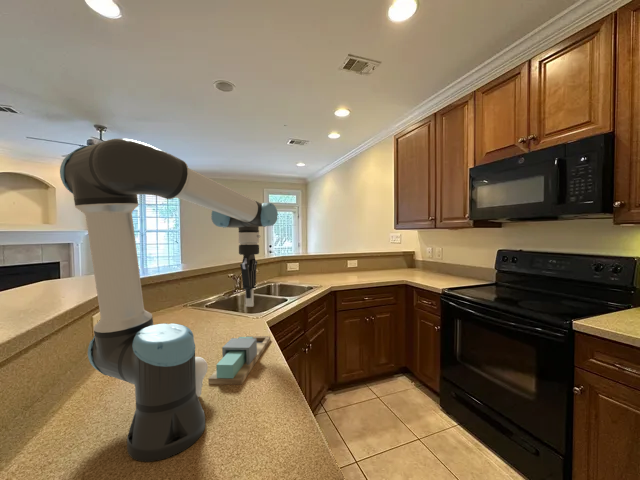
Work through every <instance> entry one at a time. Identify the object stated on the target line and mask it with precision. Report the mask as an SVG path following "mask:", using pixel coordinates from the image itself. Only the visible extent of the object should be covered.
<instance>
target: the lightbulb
mask: <svg viewBox="0 0 640 480" xmlns="http://www.w3.org/2000/svg"><path fill="white" fill-rule="evenodd" d="M208 369H209V368H208V362H207V361H206V360H205V358H203V357H201V356H195V377H196V394H197V396H198V398H199V397H200V396H201V395H202V391H203V389H202V388H203V382H204V379H205V376H206V374H207V372H208Z"/></svg>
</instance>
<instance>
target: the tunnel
mask: <svg viewBox="0 0 640 480" xmlns="http://www.w3.org/2000/svg"><path fill="white" fill-rule="evenodd" d="M221 349H222V358H223V357H224V356H225V355H226V354H227V353H228V352H229V351H230V350H246V360H247V365H250V364H251V362H252V361H253V359H254V358H255V356H256V355H257V338H239V337H232V338H230V339H229V340H228V341H227V342H226V343H225V344H224V345H223V346H222V347H221Z"/></svg>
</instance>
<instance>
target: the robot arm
mask: <svg viewBox="0 0 640 480" xmlns="http://www.w3.org/2000/svg"><path fill="white" fill-rule="evenodd" d="M59 176H60V180H61V182H62V184H63V186H64V187H65V189H66V190H67V191H69V193H71V194H72V195H73V201H74V207H75V208H76V209H77V210H79V211H80V212H82V213H83V214H84V215H85V220H86V227H87V228H86V229H87V234H88V241H89V247H90V256H91V261H92V267H93V268H92V269H93V274H94V282H95V288H96V295H97V301H98V309H99V315H100V319H99V320H98V322H96V324H94V326H93V334H94V335H93V338H92V339H91V340H90V341H89V343H88V347H87V357H88V361H89V364H90V365H91V366H92V367H93V368H94V369H95V370H96V371H98V372H99V373H100V374H101V375H104V376H106V377H110V378H114V379H117V380H121V381H122V382H123V381H124V382H127V383H129V384H132V385H134V390H135V393H134V394H135V412H134V415H133V418H132V420H131V423H130V427H129V430H128V434H127V437H126V443H127V444H126V447H127V448H126V449H127V450H126V451H127V454H128V455H129V457H131V458H132V459H133V460H135V459H136V461H139V460H140V462H155V461H154V460H157V461H160V460H165V459H168V458H170V456H171V457H173V456H176V455H178V454H180V453H181V451H182V452H184V451H185V450H186V449H188V448H189V447H191V446H192V445H194V444H195V443H196V442H197V441H198V440H199V438H200V437H201V436H202V435H203V433H204V432H205V429H206V415H205V411H204V409H203V406H202V404H201V402H200V400H199V397H198V396H197V394H196V377H195V357H196V344H195V337H194V333H193V331H192V329H191V328H189V327H188V326H186V325H183V324H180V323H167V322H166V323H158V324H157V323H156V324H154V319H153V314H152V312H149V311H148V310H146V309H145V305H144V298H143V289H142V282H141V275H140V268H139V265H140V264H139V257H138V252H137V243H136V235H135V227H134V221H133V211H134V210H136V208H137V207H138V206H139V199H138V198H139V197H138V195H149V196H150V195H152V196H157V197H161V198H163V199H166V200H173V199H175V198H177V199H179V200H181V201H185V202H188V203H191V204H194V205H196V206H199V207H201V208H204V209H206V210H207V209H208V210H210V211H211V217H210V218H211V221H212V223H213V225H215V226H216V227H219V228H223V229H224V228H225V229H226V228H230V229H231V228H235V229H237V228H238V244H239V245H238V254H239V255H241V256H243V258H242V260H241V261H242V263H240V265H239V266H240V272H241V280H242V290H244V292H245V295H244V296H245V297H244V298H245V301H244V302H245V308H248V307H249V308H251V307H254V306H255V303H254V301H255V297H254V296H255V295H254V289H257V286H256V280H257V265H258V260H257V259H256V257H255V256H256V255H259V254H260V245H259V242H260V238H261V235H260V227H264V228H266V227H271V226H274V225H275V224H276V223H277V221H278V217H279V216H278V215H279V214H278V213H279V212H278V209H277V207H276V205H275V204H273V203H272V202H259V201H257V200H255V199H252V198H250V197H249V196H246V195H244V194H242V193H240V192H238V191H236V190H234V189H233V188H230V187H228V186H226V185H224V184H222V183H220V182H217V181H216V180H215V179H214V180H213V179H211V178H209V177H208V176H205V175H203V174H201V173H199V172H197V171H195V170H193V169H191V168H189V167H188V164H187V163H186V161H184V160H182V159H181V158H179V157H177V156H175V155H173V154H171V153H168V152H167V151H164V150H162V149H160V148H157V147H155V146H152V145H150V144H147V143H145V142H141V141H139V140H138V141H137V140H134V139H129V138H112V139H111V138H110V139H107V140H105V141H102V142H98V143H94V144H91V145H84V146H80V147H78V148H76V149H74V150H73V151H71V152H70V153H69V154H67V155H66V156H65V157H64V159H63V160H62V162H61V165H60V167H59ZM179 452H180V453H179ZM177 453H178V454H177ZM175 454H176V455H175ZM172 455H173V456H172ZM167 457H168V458H167Z"/></svg>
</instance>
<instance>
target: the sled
mask: <svg viewBox="0 0 640 480" xmlns="http://www.w3.org/2000/svg"><path fill="white" fill-rule="evenodd" d="M238 338H253V337H246V336H239V337H238ZM245 362H246V350H230V351H229V352H228V353H227V354H226V355H225V356H224V357H223V356H222V358H221V359H220V360H219V361H218V362H217V363H216V367H215V368H216V370H217V378H234V377H235V375H236V374H237V373H238V371H239V370H240V369H241V367H242V366H243V365H244V363H245ZM216 370H215V371H216Z"/></svg>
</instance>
